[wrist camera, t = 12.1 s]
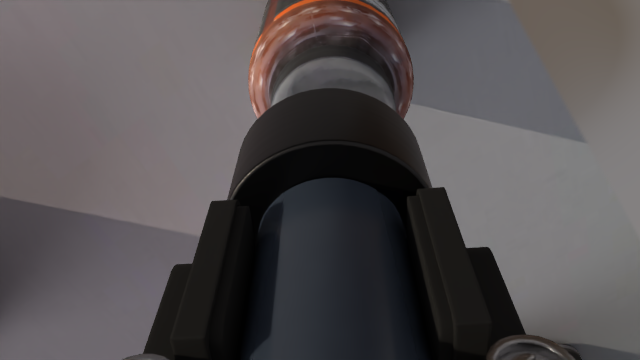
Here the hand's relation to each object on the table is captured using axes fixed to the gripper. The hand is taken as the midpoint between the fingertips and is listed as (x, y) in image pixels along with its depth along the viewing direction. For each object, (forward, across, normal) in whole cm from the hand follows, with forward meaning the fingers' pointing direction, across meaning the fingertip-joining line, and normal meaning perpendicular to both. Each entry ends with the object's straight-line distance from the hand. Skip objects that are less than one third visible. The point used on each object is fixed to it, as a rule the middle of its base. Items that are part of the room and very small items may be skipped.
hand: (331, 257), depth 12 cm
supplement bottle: (+19, 0, 0) cm, 19 cm away
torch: (+4, 0, 0) cm, 4 cm away
